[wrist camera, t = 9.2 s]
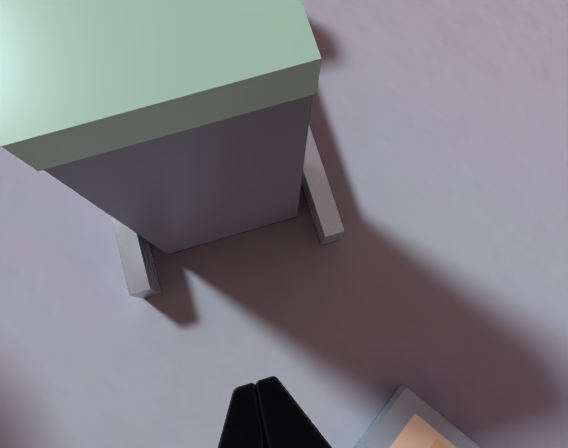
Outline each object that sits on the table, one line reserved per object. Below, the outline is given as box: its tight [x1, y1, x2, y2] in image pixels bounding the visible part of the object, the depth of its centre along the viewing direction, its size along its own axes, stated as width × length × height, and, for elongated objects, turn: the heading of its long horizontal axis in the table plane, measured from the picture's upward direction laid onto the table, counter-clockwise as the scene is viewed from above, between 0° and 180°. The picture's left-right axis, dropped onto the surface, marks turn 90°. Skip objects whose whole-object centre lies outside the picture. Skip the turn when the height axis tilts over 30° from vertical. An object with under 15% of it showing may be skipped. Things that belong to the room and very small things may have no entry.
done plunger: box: [0, 0, 322, 254], centre depth 14 cm, size 2×5×11 cm, turn 107°
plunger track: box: [111, 126, 345, 298], centre depth 18 cm, size 11×8×4 cm
